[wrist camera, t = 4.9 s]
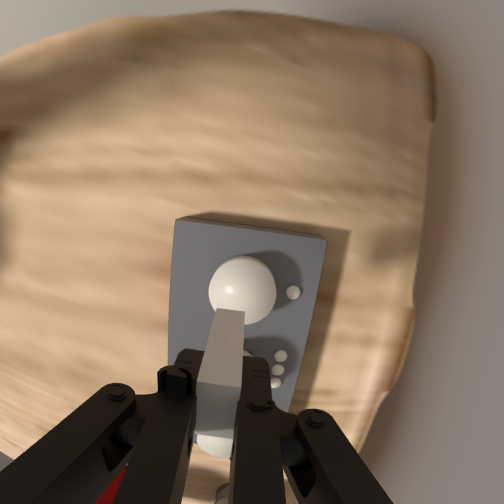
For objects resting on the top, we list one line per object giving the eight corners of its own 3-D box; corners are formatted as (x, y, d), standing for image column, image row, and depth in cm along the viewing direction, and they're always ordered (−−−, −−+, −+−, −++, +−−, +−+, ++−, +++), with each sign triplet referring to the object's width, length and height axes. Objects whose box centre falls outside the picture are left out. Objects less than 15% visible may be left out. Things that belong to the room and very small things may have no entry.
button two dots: (201, 428, 29) (196, 453, 25) (203, 396, 28) (197, 421, 24) (247, 435, 29) (246, 460, 25) (253, 402, 28) (253, 429, 24)
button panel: (174, 424, 31) (168, 440, 28) (182, 216, 26) (174, 220, 23) (275, 437, 31) (276, 454, 28) (320, 235, 26) (327, 241, 23)
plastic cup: (174, 496, 35) (160, 554, 23) (117, 490, 35) (97, 539, 24) (147, 457, 32) (123, 523, 21) (87, 450, 33) (57, 504, 21)
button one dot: (212, 301, 27) (206, 319, 23) (218, 246, 26) (212, 256, 22) (269, 309, 27) (270, 328, 23) (277, 254, 26) (281, 265, 22)
